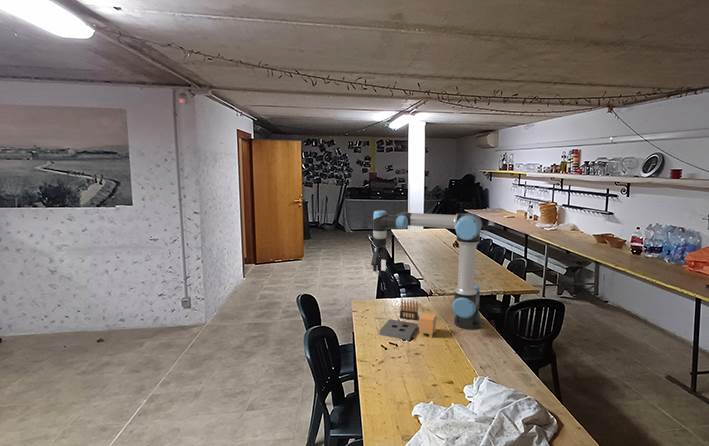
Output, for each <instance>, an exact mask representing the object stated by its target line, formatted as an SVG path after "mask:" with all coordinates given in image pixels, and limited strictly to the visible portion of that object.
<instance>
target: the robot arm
mask: <svg viewBox="0 0 709 446" xmlns="http://www.w3.org/2000/svg"><path fill="white" fill-rule="evenodd" d="M372 220H373V221H372V225H373V227H372V230H373V231H372V233H373V234H372V235H373V239H372V244H373V246H375V247H373V249H372V251H373V253H372V257H371V263H370V265H371V266H372V277H377V278H378V276H379V275H378V274H379V273H378V270H379V265H378V262H379V259H380V257H381V261H380V266H381V267H380V271H382V272H383V271H384V272H386V271H387V261H388V259H389V258H388V253H387V252H388V251H387V246H386V244H387V229H395V230H396V229H399V230H405V229H407V227H408V226H409V227H410V226H413V227H423V228H424V227H425V228H440V229H441V228H442V229H454V230H455V233H456V242H457V243H458V267H457V268H458V269H457V287H456V288H454V290H453V292H454V295H453V301H452V305H451V306H452V311H453V313H454V314H455V315H454V318H453V323H454V325H455V326H456V327H458V328H461V329H466V330H477V329H480V328H481V327H482V319H481V316H480V310H479V309H480V293H481V289H480V287H479V286H478V285H475V282H476V281H475V279H476V277H475V276H476V258H477V256H476V255H477V245H478V244H479V243H480V241H481V240H480V237H481V230H482V227H483V220H482V218H481V217H480V215H477V214H476V213H469V212H468V213H467V212H466V213H456V214H440V213H439V214H438V213H419V212H417V213H416V212H407V211H402V212H400V213H398V214H388V213H387V211H386V210H374V212H373V218H372Z"/></svg>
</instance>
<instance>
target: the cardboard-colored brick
mask: <svg viewBox="0 0 709 446" xmlns="http://www.w3.org/2000/svg"><path fill="white" fill-rule="evenodd" d="M418 320H419V322H418V332H419V333H420V334H422V335H424V334H427V335H429V338H433V334H436V329H437V314H436V313H435V314H433V313H428V312H422V314H421V315H420V316H419V317H418Z"/></svg>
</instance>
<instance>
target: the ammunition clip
mask: <svg viewBox="0 0 709 446" xmlns="http://www.w3.org/2000/svg"><path fill="white" fill-rule="evenodd" d="M399 308H400V310H399V319H401V320H402V319H403V320H409V321H410V320H411V321H418V320H419V307H418V300H416V301H415V300H414V299H413V300H412V299H410V300H409V299H407V300H406V298H404V300H403V299H402V298H401V299H400V307H399Z"/></svg>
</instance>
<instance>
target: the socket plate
mask: <svg viewBox="0 0 709 446" xmlns="http://www.w3.org/2000/svg"><path fill="white" fill-rule="evenodd" d="M418 330H419V323H415V322H408V321H405V320H398V319H393V318H392V319H391V318H389V319H388V320H387V321H386V323H384V325H383V326H382V327H381V328H380V329H379V332H378V333H379V334H378V335H379V336H385V337H389V338H395V339H398V340H399V339H400V340H406V341H411V339H412V338H413V337H414V335H415V334H416V332H417V331H418Z"/></svg>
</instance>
